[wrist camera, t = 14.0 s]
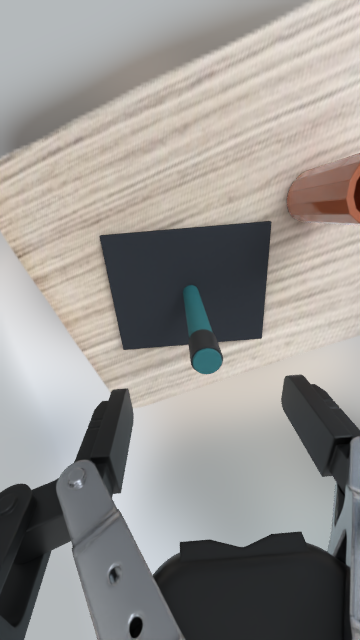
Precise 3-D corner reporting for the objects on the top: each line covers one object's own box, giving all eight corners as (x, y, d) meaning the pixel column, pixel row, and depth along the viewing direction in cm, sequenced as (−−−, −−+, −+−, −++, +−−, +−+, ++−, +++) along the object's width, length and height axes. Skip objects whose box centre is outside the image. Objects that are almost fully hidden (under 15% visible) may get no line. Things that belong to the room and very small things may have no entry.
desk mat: (124, 347, 30) (123, 350, 30) (100, 235, 24) (99, 235, 24) (260, 336, 30) (261, 338, 30) (269, 221, 24) (271, 221, 24)
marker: (182, 301, 27) (192, 377, 14) (181, 284, 26) (190, 350, 14) (199, 299, 27) (223, 374, 14) (198, 283, 26) (223, 347, 14)
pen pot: (284, 224, 24) (339, 228, 16) (289, 170, 22) (357, 144, 14) (328, 220, 24) (407, 223, 16) (338, 166, 22) (434, 137, 14)
